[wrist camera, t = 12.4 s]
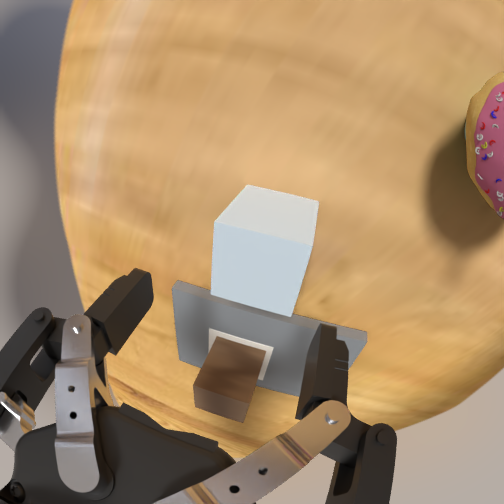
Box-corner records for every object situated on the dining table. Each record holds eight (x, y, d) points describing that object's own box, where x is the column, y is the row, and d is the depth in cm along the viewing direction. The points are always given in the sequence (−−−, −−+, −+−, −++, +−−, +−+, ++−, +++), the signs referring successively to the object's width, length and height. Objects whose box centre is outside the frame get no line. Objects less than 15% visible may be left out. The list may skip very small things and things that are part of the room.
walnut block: (266, 350, 26) (249, 403, 21) (258, 376, 28) (243, 422, 23) (216, 335, 26) (192, 385, 21) (215, 362, 29) (195, 406, 24)
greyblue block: (319, 201, 18) (312, 246, 13) (303, 261, 21) (290, 317, 16) (247, 184, 19) (214, 221, 14) (239, 244, 22) (210, 294, 17)
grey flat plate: (366, 331, 23) (367, 342, 22) (325, 393, 30) (323, 402, 28) (177, 280, 25) (171, 288, 24) (183, 352, 32) (179, 360, 31)
